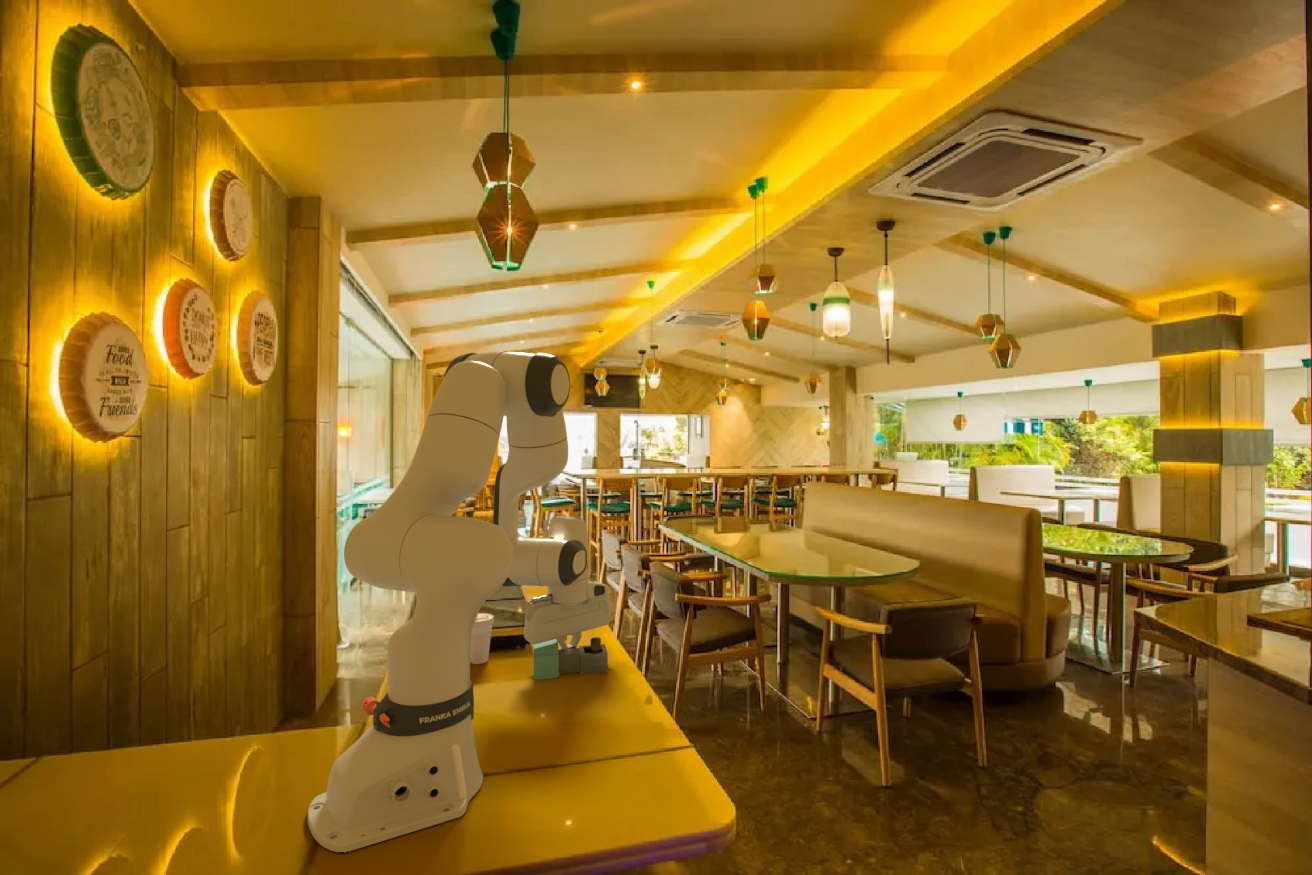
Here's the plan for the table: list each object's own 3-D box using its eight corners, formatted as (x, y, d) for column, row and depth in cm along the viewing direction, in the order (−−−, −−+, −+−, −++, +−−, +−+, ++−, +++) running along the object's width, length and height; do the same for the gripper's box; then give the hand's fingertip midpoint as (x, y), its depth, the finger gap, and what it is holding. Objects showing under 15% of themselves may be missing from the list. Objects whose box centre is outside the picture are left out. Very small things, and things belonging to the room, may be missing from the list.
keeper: (557, 664, 136) (557, 639, 136) (558, 677, 129) (558, 651, 129) (533, 666, 135) (533, 641, 135) (534, 679, 128) (533, 653, 128)
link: (604, 662, 137) (604, 644, 137) (607, 672, 132) (607, 653, 132) (536, 667, 135) (536, 649, 135) (536, 677, 129) (536, 658, 129)
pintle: (594, 669, 133) (594, 641, 133) (588, 666, 135) (588, 638, 135) (603, 667, 135) (602, 639, 135) (597, 664, 136) (596, 636, 136)
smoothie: (464, 657, 141) (463, 595, 141) (493, 654, 143) (493, 592, 142) (464, 668, 135) (463, 602, 134) (495, 664, 137) (494, 600, 136)
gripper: (533, 602, 127) (534, 671, 127) (614, 585, 140) (615, 646, 140) (517, 596, 131) (518, 662, 132) (597, 579, 145) (598, 639, 145)
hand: (569, 654), depth 136 cm, fingers closed
